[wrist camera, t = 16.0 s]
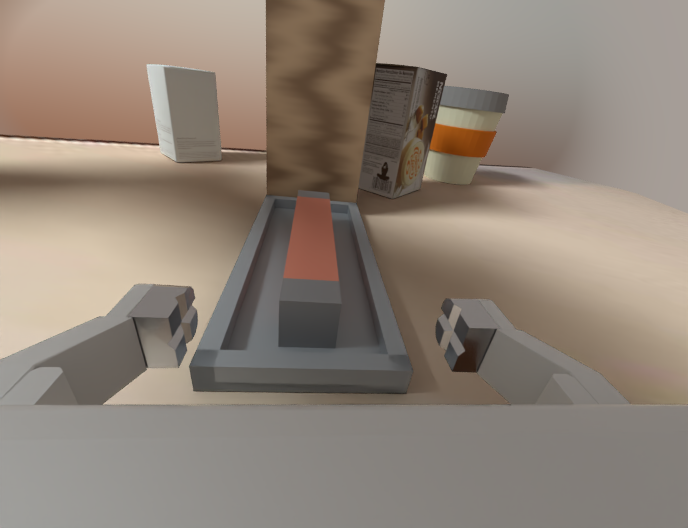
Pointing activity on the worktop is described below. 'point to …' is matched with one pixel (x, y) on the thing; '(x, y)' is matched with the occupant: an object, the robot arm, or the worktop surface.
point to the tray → (263, 318)
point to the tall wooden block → (319, 93)
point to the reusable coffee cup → (463, 133)
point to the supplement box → (185, 113)
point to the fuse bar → (310, 277)
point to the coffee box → (399, 128)
